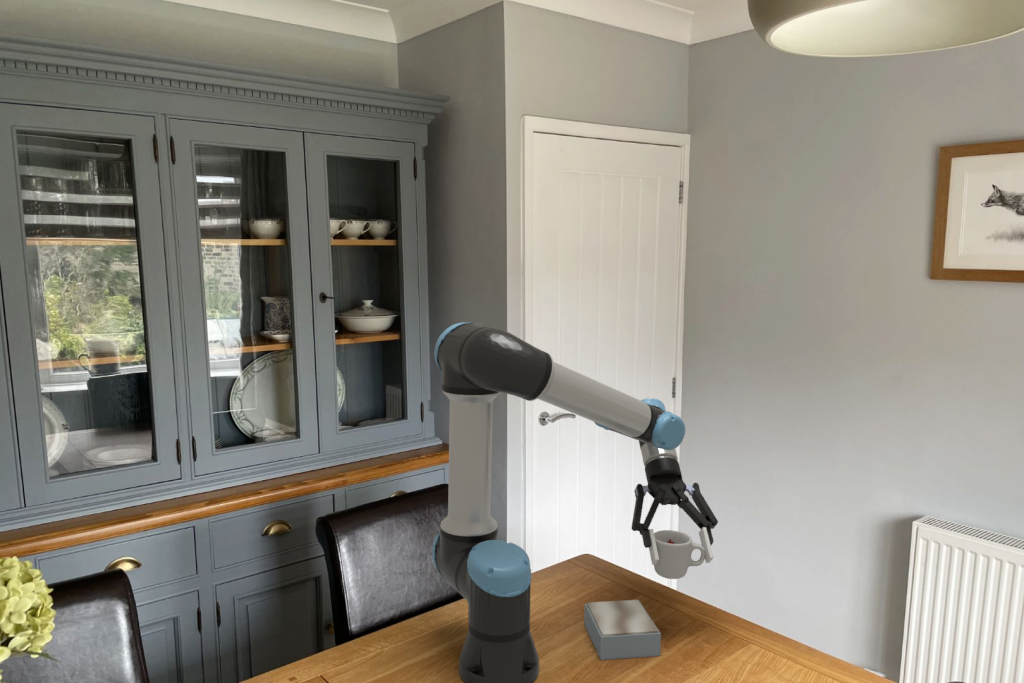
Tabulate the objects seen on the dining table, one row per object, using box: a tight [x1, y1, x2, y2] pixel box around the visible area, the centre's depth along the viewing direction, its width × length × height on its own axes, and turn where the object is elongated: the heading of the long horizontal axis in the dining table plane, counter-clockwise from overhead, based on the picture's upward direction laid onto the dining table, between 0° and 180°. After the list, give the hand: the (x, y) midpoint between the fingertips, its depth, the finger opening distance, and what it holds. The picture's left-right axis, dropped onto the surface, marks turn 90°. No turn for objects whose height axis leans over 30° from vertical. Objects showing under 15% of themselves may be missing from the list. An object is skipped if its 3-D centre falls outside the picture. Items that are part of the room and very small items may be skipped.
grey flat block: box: [583, 599, 662, 661], centre depth 152 cm, size 12×14×5 cm
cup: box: [653, 529, 705, 580], centre depth 153 cm, size 11×8×8 cm
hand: (682, 561), depth 150 cm, fingers closed on cup, 11 cm apart
